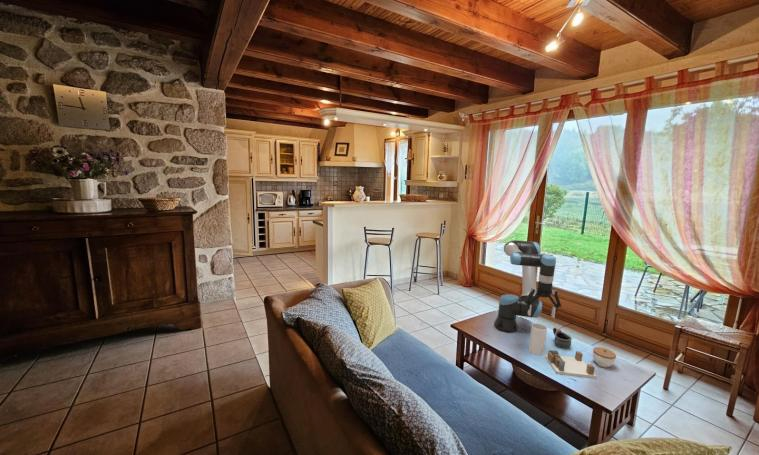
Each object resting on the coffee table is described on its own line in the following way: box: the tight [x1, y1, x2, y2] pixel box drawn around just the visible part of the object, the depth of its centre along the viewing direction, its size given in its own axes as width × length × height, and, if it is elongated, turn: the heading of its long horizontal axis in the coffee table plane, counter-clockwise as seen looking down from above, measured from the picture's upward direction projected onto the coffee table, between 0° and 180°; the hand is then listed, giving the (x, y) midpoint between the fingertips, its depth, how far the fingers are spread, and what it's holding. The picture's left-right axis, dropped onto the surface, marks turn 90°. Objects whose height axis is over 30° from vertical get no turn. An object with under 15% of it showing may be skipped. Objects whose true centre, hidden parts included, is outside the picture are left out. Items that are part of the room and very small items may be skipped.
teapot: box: [552, 326, 573, 349], centre depth 203 cm, size 10×12×10 cm
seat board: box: [544, 349, 598, 380], centre depth 179 cm, size 17×20×6 cm
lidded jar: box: [592, 346, 617, 368], centre depth 183 cm, size 11×11×9 cm
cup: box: [528, 322, 548, 356], centre depth 193 cm, size 8×8×16 cm
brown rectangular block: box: [551, 350, 563, 367], centre depth 180 cm, size 9×3×5 cm, turn 173°
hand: (540, 316), depth 191 cm, fingers open, 13 cm apart
